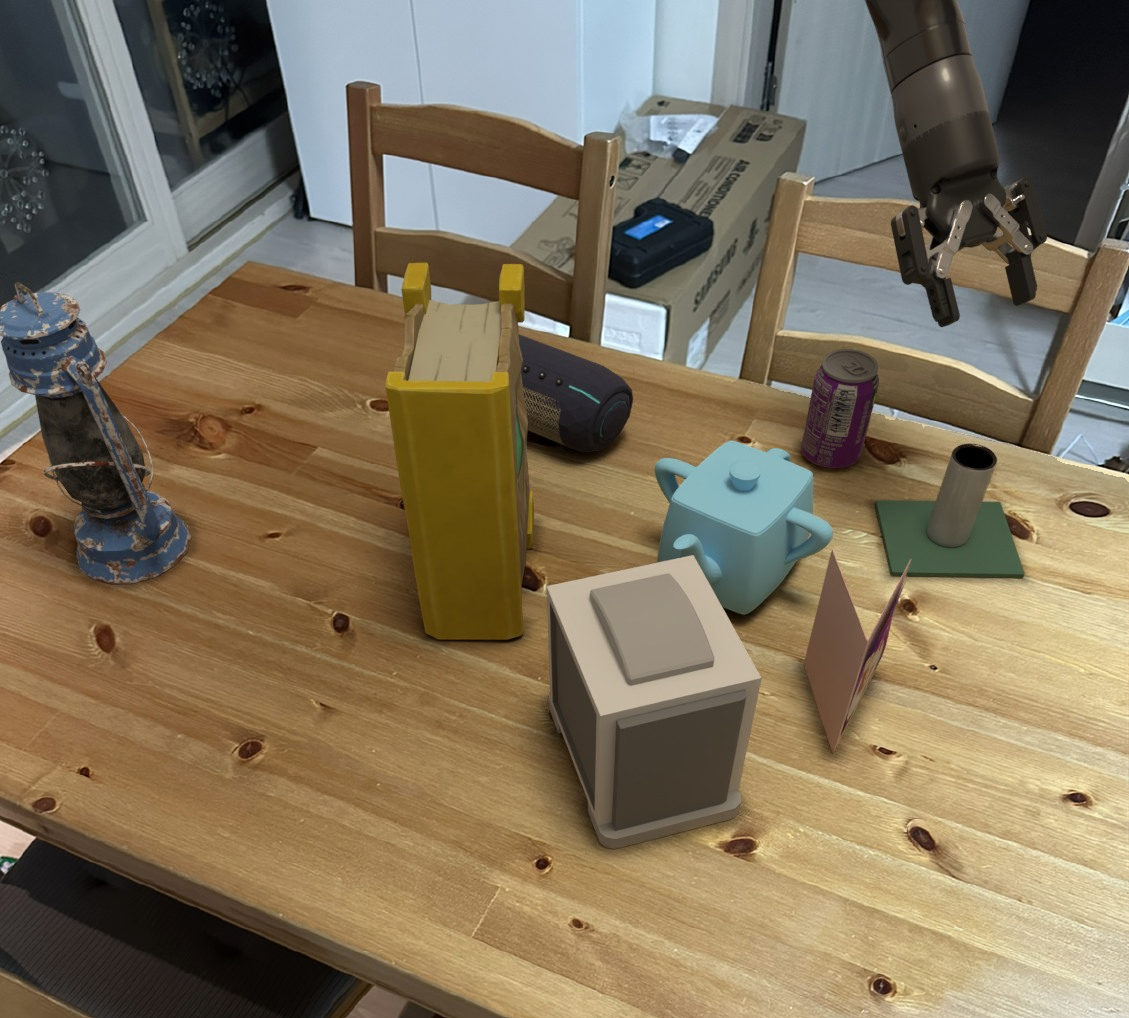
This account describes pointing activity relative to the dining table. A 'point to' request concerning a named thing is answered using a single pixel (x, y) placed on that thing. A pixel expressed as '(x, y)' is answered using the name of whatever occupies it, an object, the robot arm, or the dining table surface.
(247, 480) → the dining table surface
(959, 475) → the planter
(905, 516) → the green mat
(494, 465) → the decorative book
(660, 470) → the teapot
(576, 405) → the portable speaker
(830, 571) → the greeting card
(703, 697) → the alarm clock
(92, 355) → the lantern
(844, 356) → the beverage can
